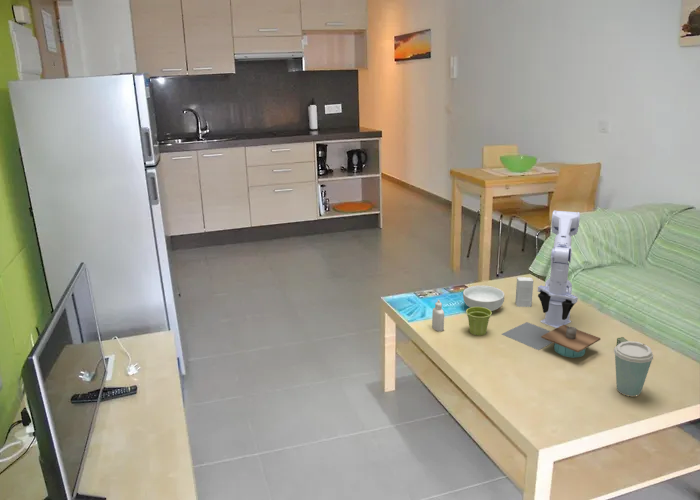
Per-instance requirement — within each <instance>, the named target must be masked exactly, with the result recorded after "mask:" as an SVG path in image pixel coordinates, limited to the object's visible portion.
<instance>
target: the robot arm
mask: <svg viewBox="0 0 700 500" xmlns="http://www.w3.org/2000/svg"><path fill="white" fill-rule="evenodd" d="M580 217H581V213H580V212H579V211H577V212H576V211H565V210H556V209H554V210H553V211H552V215H551V233H553V234H555V237H554V241H553V247H552V248H551V251H550V274H549V275H550V276H549V278H547V279H546V281H545V285H542V284H541V285H539V286H537V292H539V293H538V295H537V297H538V299H539V301H540V303H541V308H542V312H543V314H545V315H544V317H545V318H544V319H541V320H540V323H542V324H545V325H547V326H550V327H552V328H554V329H556V328H558V327H560V326H562V325H566V326H567V325H568V324H569V323H570V324H571V323H572V320H571V319H570V318H571V310H572V309H573V307H574V306H575V304H576V303H578V299H579V297H578V296H575V295H574V294H572V293H573V292H572V291H573V287H572V286H573V285H572V282H571V281H570V280H569V279H568V277H569V269H570V265H571V261H572V255H573V253H572V252H573V250H572V249H573V248H572V241H573V240H572V237H573V236H575V235H577V233H578V231H579V227H580V219H581V218H580Z"/></svg>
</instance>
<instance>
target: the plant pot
mask: <svg viewBox="0 0 700 500" xmlns="http://www.w3.org/2000/svg"><path fill="white" fill-rule="evenodd" d="M465 313H466V315H467V319H468V328H469V332H470V334H472V335H474V336H485V335H486V334H487V330H488V325H489V321H490V318H491V315H493V314H492V313H493V311H490V310H489V309H487V308H484V307H471V308H470V307H468V308H467V309H466V311H465Z"/></svg>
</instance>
